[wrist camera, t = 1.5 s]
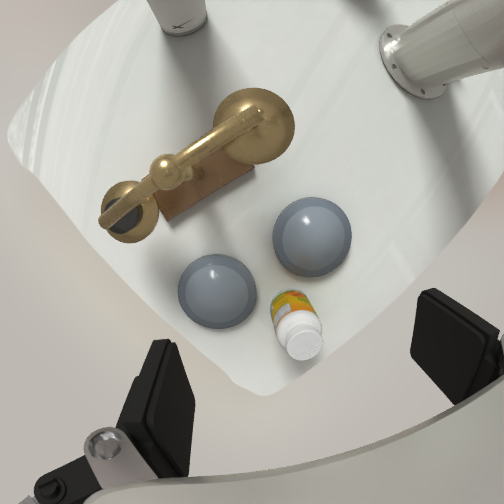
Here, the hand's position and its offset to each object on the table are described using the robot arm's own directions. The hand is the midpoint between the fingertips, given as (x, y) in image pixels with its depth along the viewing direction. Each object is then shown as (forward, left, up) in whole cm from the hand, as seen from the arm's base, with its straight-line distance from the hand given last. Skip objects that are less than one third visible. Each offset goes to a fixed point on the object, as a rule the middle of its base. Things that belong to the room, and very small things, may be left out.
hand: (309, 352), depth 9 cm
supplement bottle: (+2, +12, -26) cm, 29 cm away
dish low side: (+9, +5, -26) cm, 28 cm away
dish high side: (-5, +5, -26) cm, 27 cm away
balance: (+3, -9, -26) cm, 27 cm away
